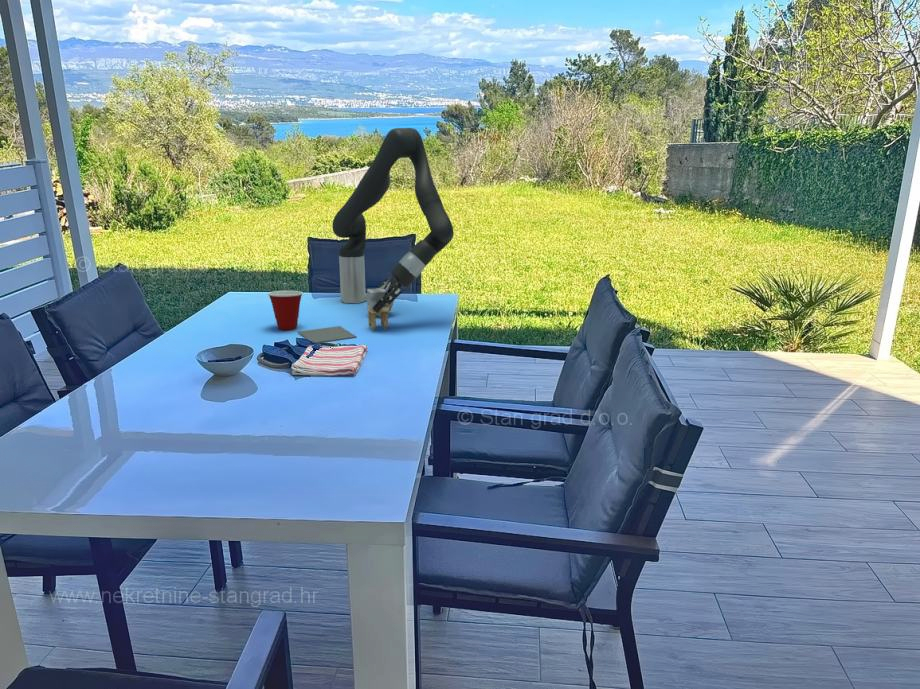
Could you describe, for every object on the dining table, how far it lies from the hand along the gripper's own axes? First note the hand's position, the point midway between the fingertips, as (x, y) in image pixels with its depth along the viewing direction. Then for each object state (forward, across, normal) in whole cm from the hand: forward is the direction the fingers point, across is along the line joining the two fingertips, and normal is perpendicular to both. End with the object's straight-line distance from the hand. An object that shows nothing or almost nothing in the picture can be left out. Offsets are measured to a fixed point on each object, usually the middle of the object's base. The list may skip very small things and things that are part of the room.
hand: (372, 308), depth 213 cm
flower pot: (0, -17, +10) cm, 20 cm away
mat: (+16, +2, -6) cm, 17 cm away
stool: (+3, 0, +6) cm, 7 cm away
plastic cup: (+23, -10, -13) cm, 28 cm away
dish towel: (+18, +29, -8) cm, 36 cm away
